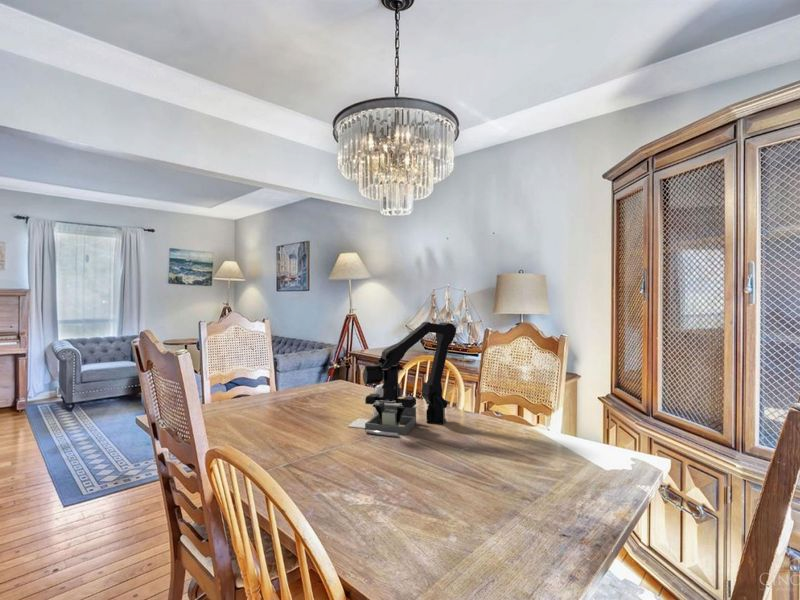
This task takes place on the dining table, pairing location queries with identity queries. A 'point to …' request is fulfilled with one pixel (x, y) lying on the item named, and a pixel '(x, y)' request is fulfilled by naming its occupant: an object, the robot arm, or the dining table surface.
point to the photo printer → (379, 391)
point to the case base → (389, 428)
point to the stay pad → (359, 423)
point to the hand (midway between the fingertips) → (390, 423)
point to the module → (389, 417)
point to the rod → (382, 433)
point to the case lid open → (406, 411)
